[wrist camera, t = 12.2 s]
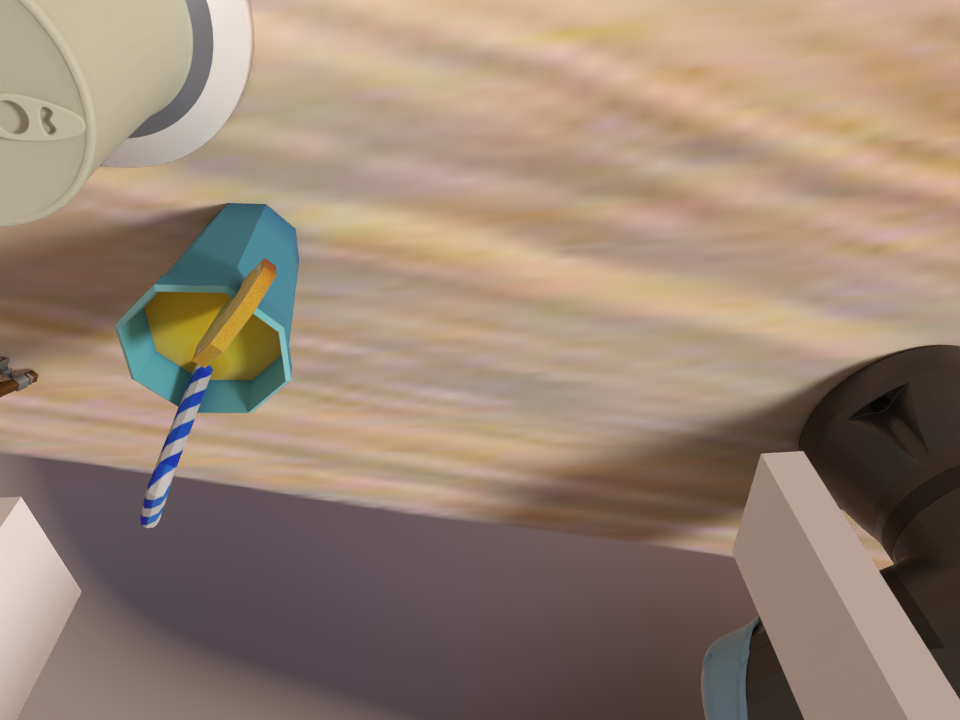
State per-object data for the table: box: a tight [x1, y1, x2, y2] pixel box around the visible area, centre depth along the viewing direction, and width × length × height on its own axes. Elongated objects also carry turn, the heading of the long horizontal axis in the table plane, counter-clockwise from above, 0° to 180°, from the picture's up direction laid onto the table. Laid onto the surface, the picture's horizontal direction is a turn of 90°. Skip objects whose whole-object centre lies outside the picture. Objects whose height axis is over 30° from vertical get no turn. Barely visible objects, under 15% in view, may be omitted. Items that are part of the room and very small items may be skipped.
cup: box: [115, 203, 299, 528], centre depth 33 cm, size 14×8×15 cm, turn 154°
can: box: [0, 0, 193, 227], centre depth 25 cm, size 9×9×12 cm
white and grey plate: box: [101, 0, 254, 168], centre depth 30 cm, size 14×14×2 cm
